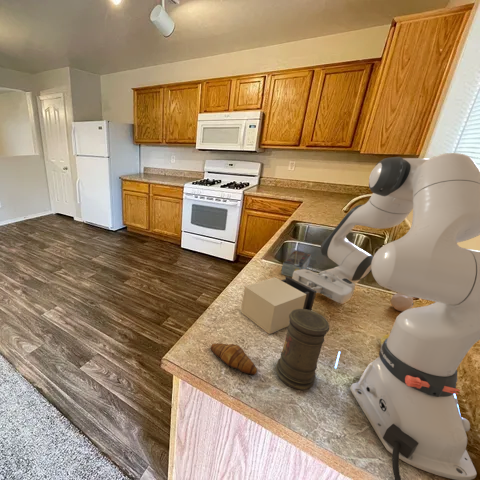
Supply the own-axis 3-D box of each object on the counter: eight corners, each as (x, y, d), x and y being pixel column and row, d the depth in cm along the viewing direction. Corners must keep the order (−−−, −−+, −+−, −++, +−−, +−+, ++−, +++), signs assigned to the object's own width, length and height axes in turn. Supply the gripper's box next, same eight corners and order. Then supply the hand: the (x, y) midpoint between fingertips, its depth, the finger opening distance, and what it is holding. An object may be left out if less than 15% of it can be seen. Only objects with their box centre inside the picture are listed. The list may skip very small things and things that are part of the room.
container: (317, 374, 69) (335, 318, 63) (308, 397, 63) (326, 337, 56) (282, 356, 75) (295, 302, 68) (270, 376, 68) (283, 319, 62)
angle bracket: (290, 294, 103) (294, 274, 100) (317, 309, 94) (323, 288, 91) (257, 305, 96) (261, 284, 93) (284, 324, 86) (289, 301, 83)
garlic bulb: (415, 313, 94) (423, 294, 91) (400, 315, 93) (409, 296, 90) (396, 302, 100) (403, 284, 97) (382, 304, 99) (389, 286, 96)
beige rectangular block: (270, 301, 100) (274, 277, 96) (299, 321, 89) (306, 294, 86) (240, 312, 94) (244, 286, 90) (269, 334, 83) (275, 306, 79)
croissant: (261, 368, 71) (264, 353, 69) (250, 384, 66) (253, 369, 64) (217, 343, 79) (218, 329, 77) (204, 355, 75) (206, 341, 73)
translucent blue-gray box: (279, 274, 120) (282, 261, 118) (292, 260, 134) (294, 248, 132) (298, 279, 116) (301, 266, 113) (309, 265, 129) (312, 253, 127)
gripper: (307, 263, 110) (284, 269, 104) (360, 286, 93) (336, 295, 87) (303, 276, 112) (281, 283, 106) (355, 301, 95) (331, 311, 89)
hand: (306, 289), depth 97 cm, fingers closed, pressing on angle bracket
